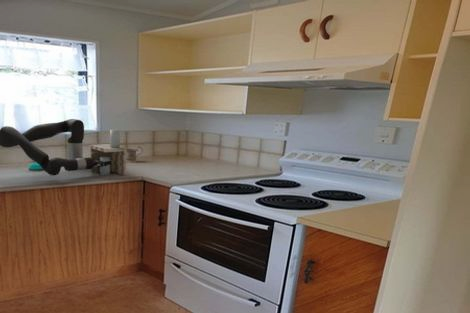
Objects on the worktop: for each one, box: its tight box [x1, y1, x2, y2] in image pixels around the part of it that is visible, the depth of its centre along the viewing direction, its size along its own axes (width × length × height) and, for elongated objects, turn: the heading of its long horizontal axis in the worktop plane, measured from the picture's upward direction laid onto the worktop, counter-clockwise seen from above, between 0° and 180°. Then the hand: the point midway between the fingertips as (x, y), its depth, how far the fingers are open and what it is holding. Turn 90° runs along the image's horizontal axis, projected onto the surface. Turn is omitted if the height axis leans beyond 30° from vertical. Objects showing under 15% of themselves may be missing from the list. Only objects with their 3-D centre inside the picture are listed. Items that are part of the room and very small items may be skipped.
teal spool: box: [28, 158, 44, 171], centre depth 218 cm, size 10×10×10 cm
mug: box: [126, 146, 144, 164], centre depth 264 cm, size 14×10×12 cm
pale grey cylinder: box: [109, 129, 121, 148], centre depth 211 cm, size 6×6×11 cm
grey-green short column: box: [99, 157, 111, 176], centre depth 214 cm, size 6×6×11 cm
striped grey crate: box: [89, 143, 127, 176], centre depth 215 cm, size 20×14×18 cm
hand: (107, 161), depth 215 cm, fingers open, 8 cm apart
